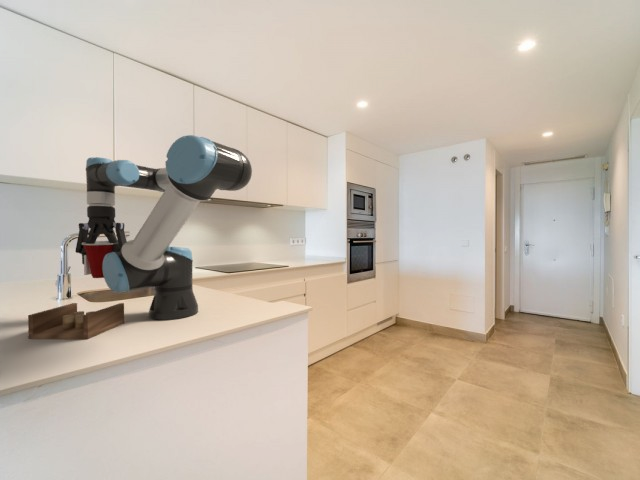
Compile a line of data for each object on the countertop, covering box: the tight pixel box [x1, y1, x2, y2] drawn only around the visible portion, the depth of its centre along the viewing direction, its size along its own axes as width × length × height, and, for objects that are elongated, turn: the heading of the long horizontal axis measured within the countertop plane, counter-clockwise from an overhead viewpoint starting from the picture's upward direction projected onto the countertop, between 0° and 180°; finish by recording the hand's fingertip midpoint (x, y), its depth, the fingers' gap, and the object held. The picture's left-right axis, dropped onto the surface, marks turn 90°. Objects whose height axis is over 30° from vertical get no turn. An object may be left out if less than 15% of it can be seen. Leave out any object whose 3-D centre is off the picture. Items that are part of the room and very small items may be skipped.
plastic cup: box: [82, 240, 118, 279], centre depth 99 cm, size 11×11×12 cm
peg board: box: [27, 302, 125, 340], centre depth 86 cm, size 16×14×6 cm
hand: (102, 274), depth 100 cm, fingers closed on plastic cup, 9 cm apart
